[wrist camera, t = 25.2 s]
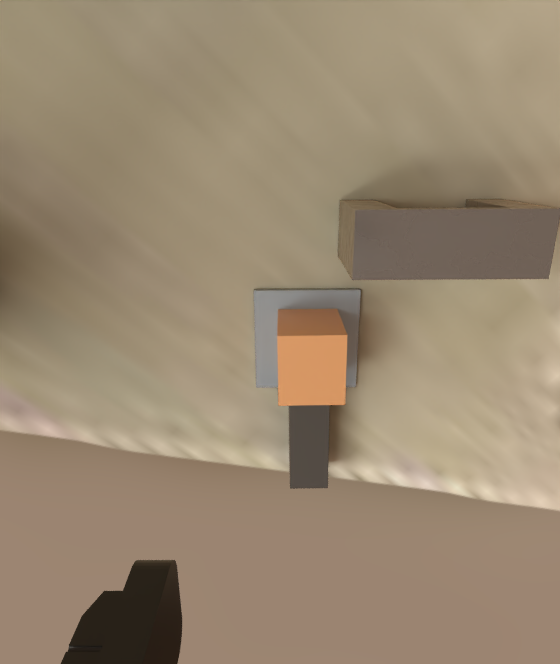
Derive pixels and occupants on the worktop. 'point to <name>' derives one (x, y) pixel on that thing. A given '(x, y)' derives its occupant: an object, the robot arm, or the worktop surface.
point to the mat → (301, 299)
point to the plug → (310, 387)
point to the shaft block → (447, 240)
